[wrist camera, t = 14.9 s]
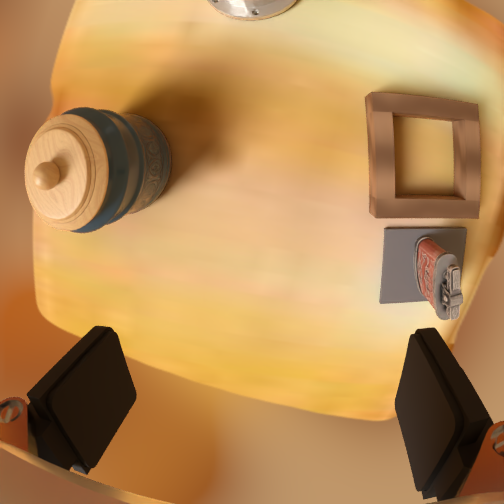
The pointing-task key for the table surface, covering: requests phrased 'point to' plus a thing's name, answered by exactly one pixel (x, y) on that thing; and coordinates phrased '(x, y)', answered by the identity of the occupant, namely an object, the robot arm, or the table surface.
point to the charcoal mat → (402, 263)
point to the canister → (95, 168)
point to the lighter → (438, 277)
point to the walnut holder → (383, 157)
